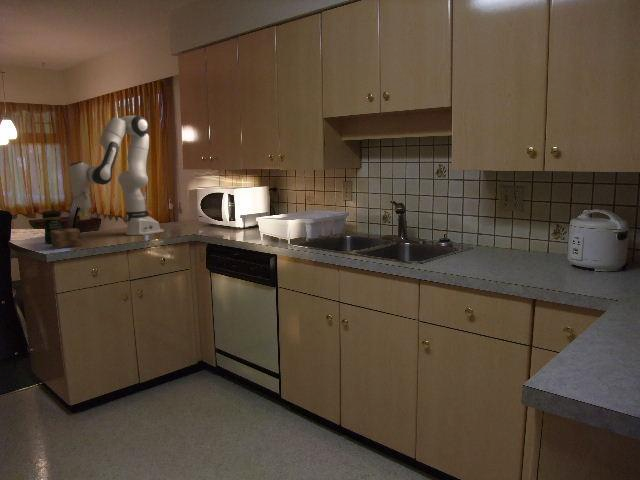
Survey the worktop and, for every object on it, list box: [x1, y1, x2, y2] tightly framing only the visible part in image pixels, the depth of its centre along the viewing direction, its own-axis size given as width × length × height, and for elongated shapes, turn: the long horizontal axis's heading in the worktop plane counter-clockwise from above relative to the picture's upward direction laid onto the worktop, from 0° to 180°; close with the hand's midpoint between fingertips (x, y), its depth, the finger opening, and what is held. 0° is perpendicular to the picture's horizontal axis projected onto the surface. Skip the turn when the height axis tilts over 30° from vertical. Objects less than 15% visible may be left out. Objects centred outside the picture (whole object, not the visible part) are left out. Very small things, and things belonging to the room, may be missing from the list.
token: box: [78, 209, 92, 221], centre depth 284 cm, size 5×2×5 cm, turn 128°
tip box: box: [51, 227, 83, 250], centre depth 276 cm, size 12×12×9 cm
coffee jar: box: [41, 210, 62, 244], centre depth 291 cm, size 10×8×19 cm
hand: (84, 215), depth 284 cm, fingers closed on token, 2 cm apart
